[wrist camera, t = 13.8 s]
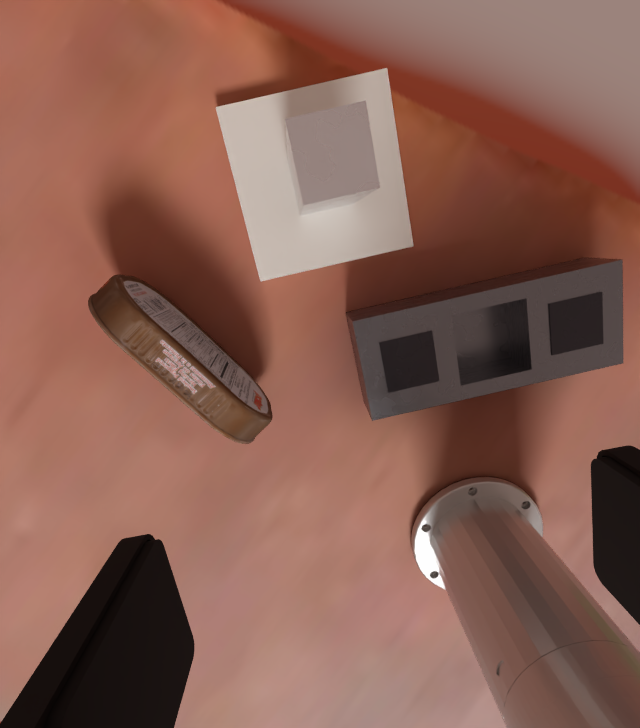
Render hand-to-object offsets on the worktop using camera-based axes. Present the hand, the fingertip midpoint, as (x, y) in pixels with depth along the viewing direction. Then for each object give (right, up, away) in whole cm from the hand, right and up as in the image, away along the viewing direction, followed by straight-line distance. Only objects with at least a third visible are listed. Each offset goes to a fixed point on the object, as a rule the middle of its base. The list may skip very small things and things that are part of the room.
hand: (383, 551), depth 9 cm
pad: (-1, +18, +22) cm, 28 cm away
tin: (-11, +6, +26) cm, 28 cm away
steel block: (-1, +17, +21) cm, 28 cm away
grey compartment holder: (+11, +7, +26) cm, 29 cm away
